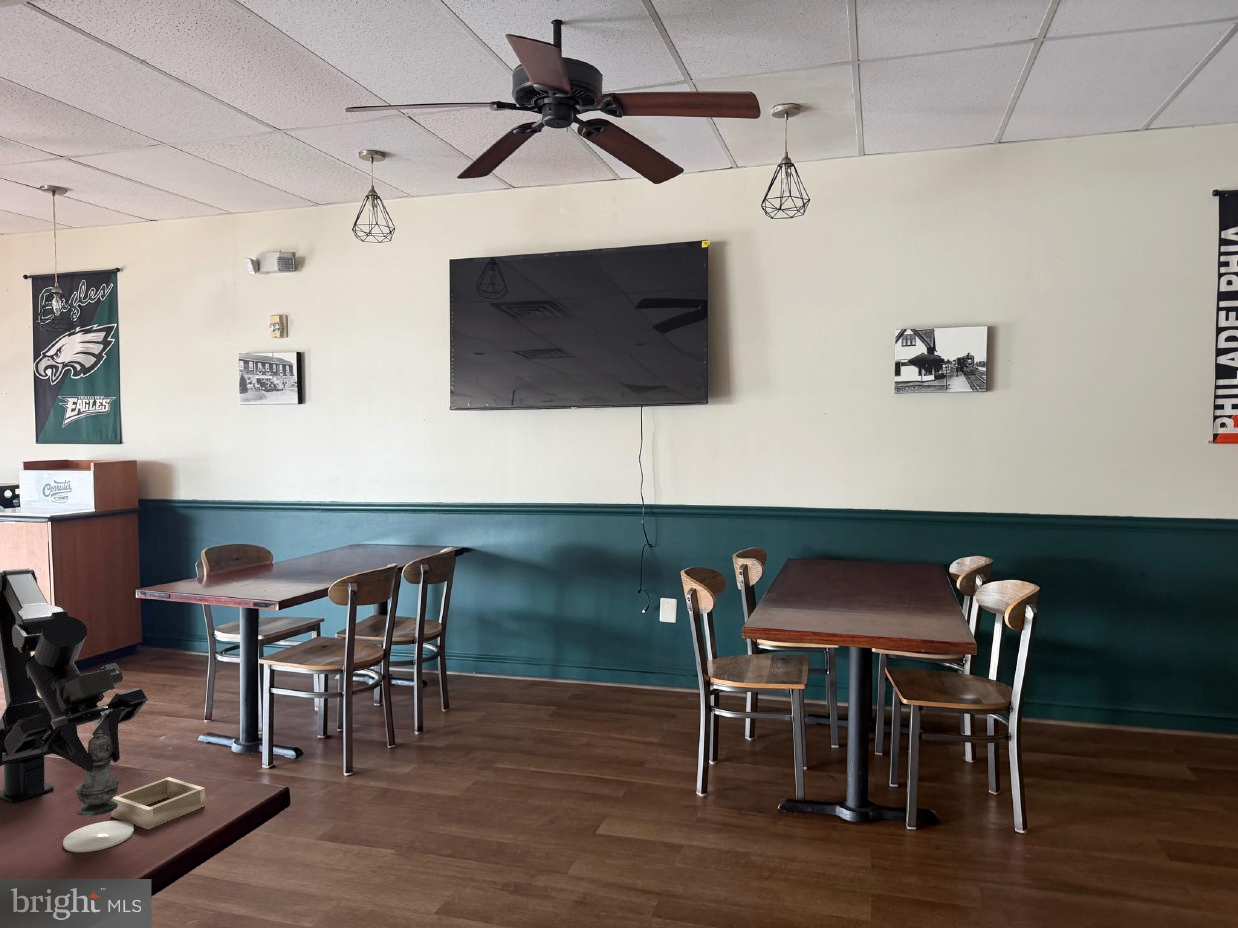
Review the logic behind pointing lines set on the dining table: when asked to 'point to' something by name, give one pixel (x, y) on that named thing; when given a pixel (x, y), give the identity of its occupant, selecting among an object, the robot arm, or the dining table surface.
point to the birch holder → (148, 817)
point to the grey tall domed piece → (98, 780)
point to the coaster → (98, 836)
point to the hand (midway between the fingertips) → (104, 765)
